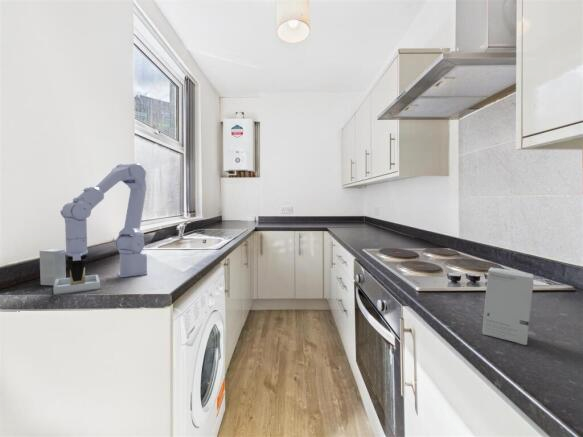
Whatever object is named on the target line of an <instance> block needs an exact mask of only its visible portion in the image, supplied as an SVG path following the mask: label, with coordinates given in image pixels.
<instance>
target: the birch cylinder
mask: <svg viewBox="0 0 583 437" xmlns="http://www.w3.org/2000/svg"><path fill="white" fill-rule="evenodd" d="M85 276H86V267H84V270H83V276H82V280H81V281H73V278H72V274H71V271H70V270H69V278H70V285H76V284H84V283H85Z"/></svg>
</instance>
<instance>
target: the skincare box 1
mask: <svg viewBox="0 0 583 437" xmlns="http://www.w3.org/2000/svg"><path fill="white" fill-rule="evenodd" d="M62 252H66V248H65V249H62V248H61V249H59V248H51V249H44V250H43V249H42V250H39V269H40V270H39V273H40V274H39V276H40V278H39V279H40V285H41V286H54V284H55V280H56V279H64V278H67V272H66V271H67V270H66V267H67V264H66V255H62Z"/></svg>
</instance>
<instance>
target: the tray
mask: <svg viewBox="0 0 583 437" xmlns="http://www.w3.org/2000/svg"><path fill="white" fill-rule="evenodd" d="M52 288H53V289H52V290H53V292H52V293H53V296H58V295H65V294H72V293H79V292H86V291H92V290H100V289H101V281H100V277H99V274H91V275H85V283H84V284H76V285H70V277H66V278H64V279H56V280H55V284H54V285H53V287H52Z"/></svg>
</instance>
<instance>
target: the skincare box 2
mask: <svg viewBox="0 0 583 437" xmlns="http://www.w3.org/2000/svg"><path fill="white" fill-rule="evenodd" d="M534 276H535V275H534V274H533V273H530V272H523V271H519V270H513V269H505V268H498V267H490V268H489V269H488V270H487V278H486V288H485V300H484V310H483V319H482V321H483V322H482V335H484V336H489V337H492V338H497V339H502V340H504V341H505V340H506V341H509V342H514V343H515V344H519V345H522V346H523V345H524V346H527V345H528V337H529V328H530V320H531V319H530V318H531V310H532V309H531V308H532V301H533V299H532V298H533V289H534Z"/></svg>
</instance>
